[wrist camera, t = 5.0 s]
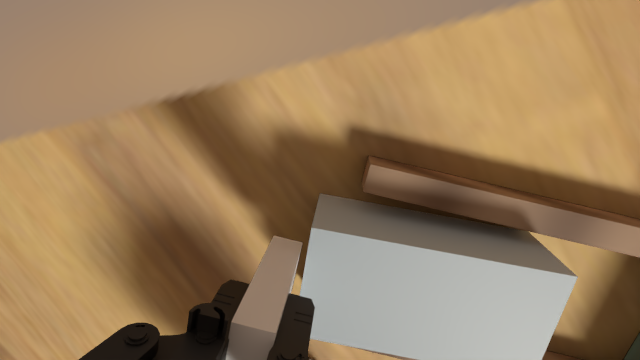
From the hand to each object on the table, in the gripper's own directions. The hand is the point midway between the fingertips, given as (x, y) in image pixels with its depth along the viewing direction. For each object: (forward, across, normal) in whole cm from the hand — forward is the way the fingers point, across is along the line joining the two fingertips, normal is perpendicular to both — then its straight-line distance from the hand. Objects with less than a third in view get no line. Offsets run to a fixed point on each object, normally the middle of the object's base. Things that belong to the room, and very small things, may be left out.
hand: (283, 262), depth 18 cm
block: (+4, +7, 0) cm, 8 cm away
